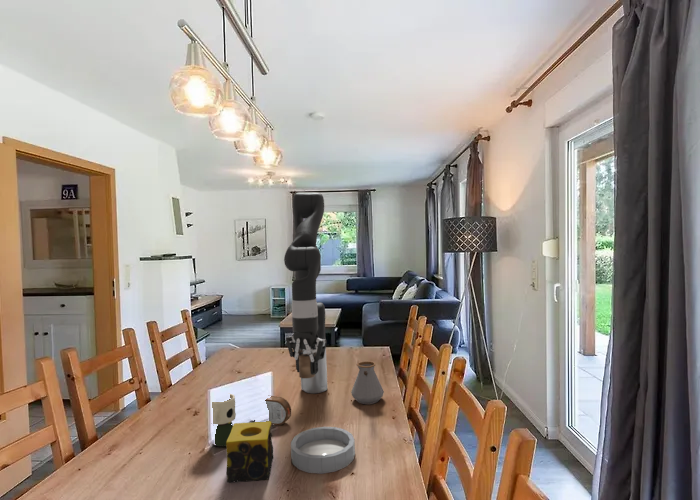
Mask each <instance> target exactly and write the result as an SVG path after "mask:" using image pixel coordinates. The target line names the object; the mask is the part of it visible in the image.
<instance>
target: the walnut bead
mask: <svg viewBox="0 0 700 500" xmlns="http://www.w3.org/2000/svg"><path fill="white" fill-rule="evenodd" d="M310 362H311V359H310V356H309V355H308V353H307V354H301V355H299V372H298V373H299V376H298V377H299V378H300V379H301V378H312V377H314V376H315V374H314V375H312V374H311V365H310Z"/></svg>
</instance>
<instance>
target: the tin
mask: <svg viewBox="0 0 700 500" xmlns="http://www.w3.org/2000/svg"><path fill="white" fill-rule="evenodd" d="M270 396H271V397H270V398H267V399H266V400H265V401H266V404H267V408H268V410H269V421H271V425H272V424H274V425H273V426H282V425H284V424H285V423H287V422H288V420H289V419H291V416H292V406H291V405H290V402H289V401H288V400H287V399H285V398H284V397H282V396H277V395H270Z"/></svg>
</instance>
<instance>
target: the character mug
mask: <svg viewBox="0 0 700 500" xmlns="http://www.w3.org/2000/svg"><path fill="white" fill-rule="evenodd" d="M229 394H230V398H231V399H229V400H227V401H224V402H212V408H213V424H212V425H214V424H218V426H217V429H216V434H215V444H216V445H217V447H226V442H227V439H228V437H229V435H230V433H231V430H232V427H233V425H234V423H233V421H235V419H236V416H237V414H236V397H235V394H233V393H229ZM231 424H232V425H231Z"/></svg>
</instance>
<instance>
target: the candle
mask: <svg viewBox="0 0 700 500" xmlns="http://www.w3.org/2000/svg"><path fill="white" fill-rule="evenodd" d="M272 436H273V434H272V424H271V421H266V422H254V421H252V422H237V423H236V422H235V423H233V427H232V430H231V433H230V435H229V437H228V439H227V442H226V446H225V447H226V471H225V472H226V474H225V475H226V481H227V483H229V484H230V483H240V482H241V483H243V482H252V481H253V482H254V481H265V480H267V481H268V480H269V478H270V475H271V470H272V465H273V460H274V446H273V440H272V439H273V438H272Z"/></svg>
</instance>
